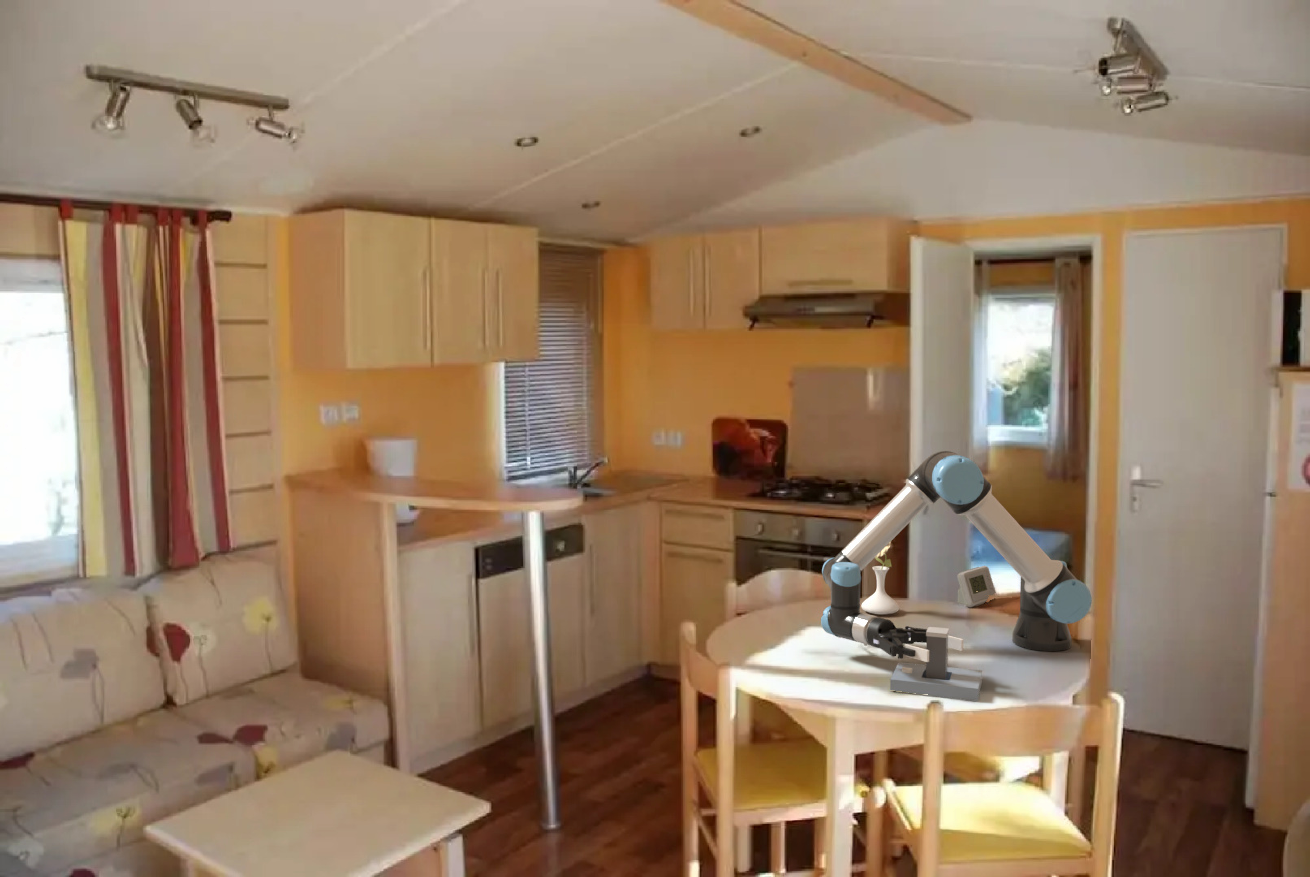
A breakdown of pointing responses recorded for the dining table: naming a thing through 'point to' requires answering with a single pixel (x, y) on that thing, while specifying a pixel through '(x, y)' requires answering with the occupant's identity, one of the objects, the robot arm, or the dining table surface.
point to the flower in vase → (881, 590)
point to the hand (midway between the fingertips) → (945, 650)
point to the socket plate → (937, 682)
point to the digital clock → (975, 586)
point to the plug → (937, 653)
